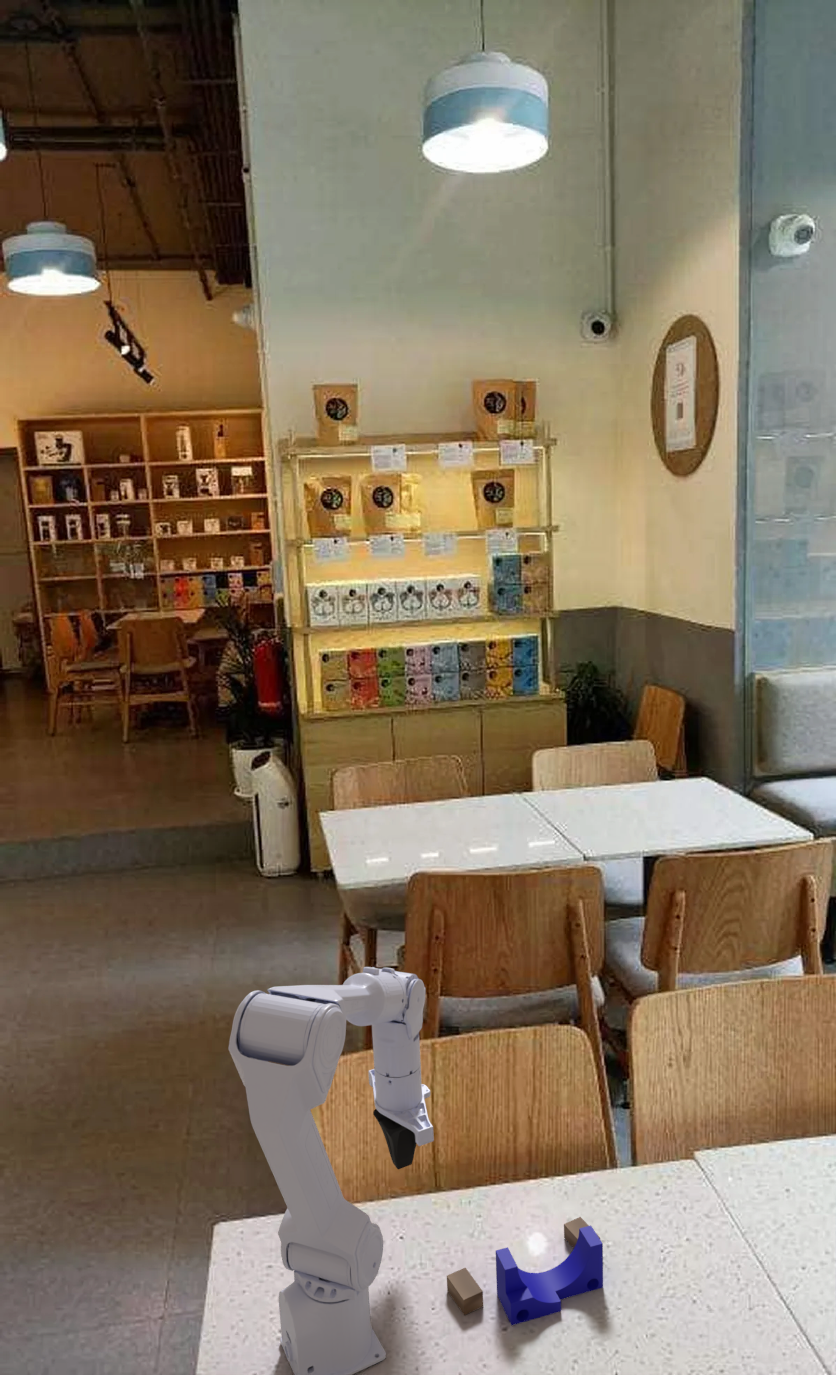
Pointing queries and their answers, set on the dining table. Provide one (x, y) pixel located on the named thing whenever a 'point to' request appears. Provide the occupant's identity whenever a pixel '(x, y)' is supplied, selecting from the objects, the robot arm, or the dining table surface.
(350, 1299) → the robot arm
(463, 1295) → the end blocks
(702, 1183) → the dining table surface
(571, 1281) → the blue block with holes
